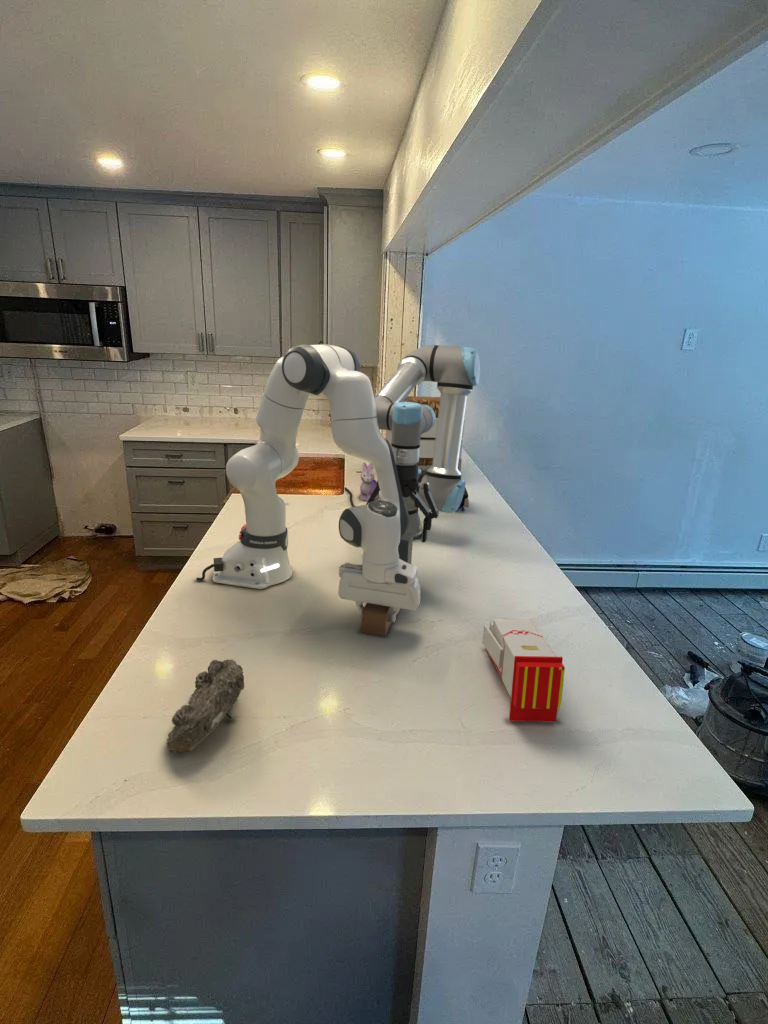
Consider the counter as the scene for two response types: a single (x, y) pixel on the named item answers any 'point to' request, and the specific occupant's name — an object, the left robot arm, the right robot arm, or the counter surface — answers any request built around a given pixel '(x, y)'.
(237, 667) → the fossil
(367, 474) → the figurine
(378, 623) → the walnut beam
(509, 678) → the toy
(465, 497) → the figurine character
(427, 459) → the white boxy piece
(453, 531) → the counter surface
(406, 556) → the cap block
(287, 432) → the left robot arm
